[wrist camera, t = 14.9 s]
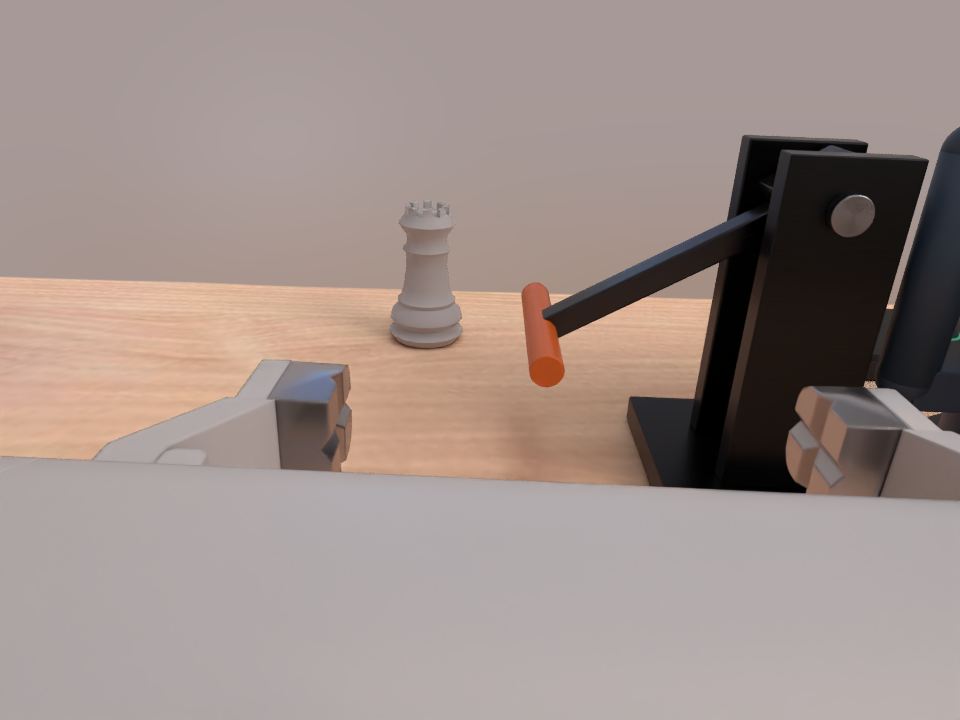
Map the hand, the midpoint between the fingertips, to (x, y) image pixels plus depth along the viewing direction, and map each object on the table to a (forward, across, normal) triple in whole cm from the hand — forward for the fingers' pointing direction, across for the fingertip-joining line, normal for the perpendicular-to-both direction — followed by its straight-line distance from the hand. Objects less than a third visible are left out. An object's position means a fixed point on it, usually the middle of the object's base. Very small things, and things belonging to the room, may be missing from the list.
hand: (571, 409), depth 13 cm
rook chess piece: (+29, +5, +11) cm, 31 cm away
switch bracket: (+14, -10, +11) cm, 21 cm away
